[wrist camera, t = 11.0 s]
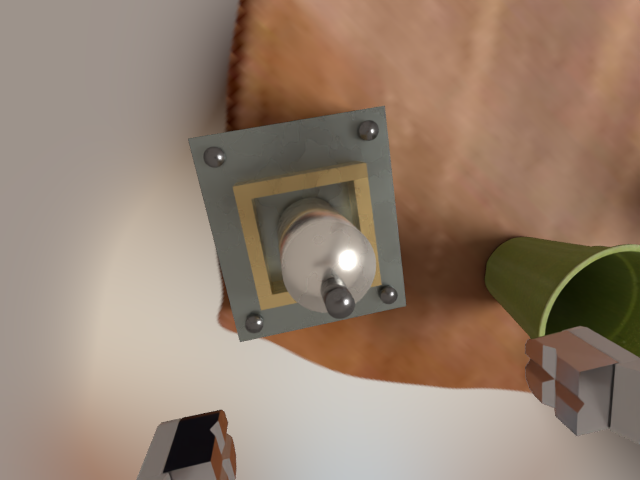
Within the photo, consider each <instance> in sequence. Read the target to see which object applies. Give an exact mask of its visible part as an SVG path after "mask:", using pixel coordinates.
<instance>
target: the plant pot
mask: <svg viewBox="0 0 640 480" xmlns="http://www.w3.org/2000/svg"><path fill="white" fill-rule="evenodd" d="M485 284H486V287H487V289H488V291H489V292H490V294H491V295H492V296H493V297H494V298H495V299H496V300H497V301H498V302H499V303H500V304H501V306H502V307H503V308H504V309H505V310H506V311H507V312H508V313H509V314H510V315H511V316H512V318H513V319H514V320H515V321H516V322H517V323H518V324H519V325H520V326H521V327H522V329H523V330H524V331H525V332H526V333H527V334H528V335H529V336H530V338H531V339H532V338H536V337H540V336H544V335H549V334H553V333H557V332H561V331H563V330H567V329H570V328H574V327H578V326H582V327H587V328H589V329H591V330H592V331H594V332H596V333H598V334H599V335H601V336H603V337H605V338H606V339H608V340H610V341H611V342H613V343H615V344H617V345H618V346H620V347H622V348H624V349H625V350H627V351H629V352H631V353H632V354H634V355H636V356H638V357H639V358H640V245H635V244H626V245H618V246H613V247H605V246H592V247H590V246H583V245H577V244H570V243H564V242H557V241H551V240H544V239H538V238H531V237H518V238H513V239H510V240H508V241H506V242H505V243H503V244H501V245H500V246H499V247H498V248H497V249H496V250H495V251H494V252H493V253H492V255H491V256H490V258H489V260H488V262H487V265H486V274H485Z"/></svg>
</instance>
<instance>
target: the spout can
mask: <svg viewBox="0 0 640 480" xmlns="http://www.w3.org/2000/svg"><path fill="white" fill-rule="evenodd" d="M277 234H278V243H279V252H280V260H281V269H282V277H283V281H284V285H285V287H286V289H287V291H288V293H289V294H290V295H291V297H292V298H293V299H294V300H295V301H296V302H297V303H298V304H300V305H301V306H303V307H305V308H307V309H309V310H312V311H316V312H322V313H329V315H330V316H332V317H333V318H336V319H343V318H346V317H348V316H349V315H351V313H352V312H353V311H354V308H355V303H357V302H358V301H359V300H360V299H361V298H363V296H364V295H365V294H366V293H367V291H368V290H369V288H370V287H371V285H372V283H373V280H374V277H375V272H376V258H375V253H374V250H373V248H372V246H371V244H370V242H369V241H368V239H367V238H366V237H365V236H364V235H363V234H362V233H361V232H360V231H359V230H358V229H357V228H356V227H355V226H354V225H352V224H351V223H350V222H349V221H348V220H347V219H346V218H345V217H344V216H343V215H342V214H340V213H339V212H338V211H337V210H336V209H335V208H334V207H333V206H332V205H330V204H329V203H327V202H326V201H323V200H321V199H317V198H304V199H300V200H298V201H296V202H294V203H292V204H291V205H289V206H288V207H287V208H286V209H285V210H284V212H283V213H282V215H281V217H280V219H279V222H278V227H277Z"/></svg>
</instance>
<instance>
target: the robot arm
mask: <svg viewBox="0 0 640 480" xmlns="http://www.w3.org/2000/svg"><path fill="white" fill-rule="evenodd" d="M525 354H526V355H527V356H528V357H529V358H530V360H529V362H528V364H527V365H526V367H525V374H526V380H527V383H528V386H529V388H530V390H531V391H532V393H533V394H534V396H535V397H536V398H537V399H538V400H539V401H540V402H541V403H543V404H545V405H548V406H550V407H552V408H554V410H555V416H556V417H557V418H558V419H559V420H560V421H561V422H562V423H563V424H564V425H566V427H567V428H569V429H570V430H571V431H572V432H573V433H574V434H575V435H576V436H580V435H584V434H589V433H593V432H598V431H602V430H607V429H610V431H612V432H614V433H616V434H618V435H620V436H622V437H624V438H627V439H628V440H631V441H633V442H635V443H637V444H639V445H640V358H639V357H638V356H636V355H634V354H632V353H631V352H629V351H627V350H625V349H624V348H622V347H620V346H618V345H617V344H615V343H613V342H611V341H610V340H608V339H606V338H605V337H603V336H601V335H599V334H598V333H596V332H594V331H592V330H591V329H589V328H587V327H582V326H578V327H574V328H570V329H567V330H563V331H561V332H557V333H553V334H549V335H544V336H540V337H536V338H532V339H528V340H527V342H526V344H525ZM227 426H228V421H227V418H226V415H225V412H224V411H223V410H217V411H213V412H208V413H203V414H198V415H194V416H189V417H184V418H182V419H175V420H171V421H166V422H162V423H161V424H160V425H159V426H158V427H157V429H156V432H155V434H154V437H153V440H152V442H151V445H150V447H149V449H148V452H147V454H146V457H145V459H144V462H143V465H142V467H141V470H140V472H139V475H138V477H137V480H235V479H236V453H235V447H234V442H233V439H232V437H231V436H230V435H228V434H227Z"/></svg>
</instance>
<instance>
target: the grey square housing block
mask: <svg viewBox="0 0 640 480" xmlns="http://www.w3.org/2000/svg"><path fill="white" fill-rule="evenodd" d="M188 141H189V145H190V148H191V153H192V157H193V160H194V164H195V168H196V171H197V176H198V180H199V184H200V188H201V191H202V196H203V199H204V203H205V207H206V211H207V215H208V219H209V223H210V226H211V231H212V234H213V238H214V242H215V246H216V250H217V254H218V258H219V262H220V266H221V270H222V274H223V278H224V281H225V285H226V289H227V293H228V297H229V301H230V305H231V309H232V313H233V317H234V321H235V324H236V328H237V332H238V336H239V340H240V342H242V341H247V340H252V339H257V338H261V337H266V336H270V335H275V334H280V333H284V332H289V331H293V330H298V329H303V328H307V327H312V326H316V325H321V324H326V323H330V322H335V321H339V320H344V319H349V318H353V317H358V316H362V315H367V314H372V313H376V312H381V311H385V310H390V309H395V308H399V307H404V306H406V299H405V289H404V280H403V271H402V262H401V252H400V243H399V234H398V225H397V215H396V206H395V197H394V188H393V178H392V169H391V160H390V151H389V141H388V132H387V123H386V114H385V106H381V107H375V108H369V109H363V110H357V111H351V112H345V113H339V114H333V115H327V116H321V117H315V118H309V119H303V120H297V121H291V122H285V123H279V124H273V125H267V126H261V127H255V128H249V129H243V130H237V131H231V132H225V133H219V134H213V135H207V136H201V137H195V138H189V139H188ZM304 198H317V199H321V200H323V201H326V202H327V203H329V204H330V205H332V206H333V207H334V208H335V209H336V210H337V211H338V212H339V213H340V214H342V215H343V216H344V217H345V218H346V219H347V220H348V221H349V222H350V223H351V224H352V225H354V226H355V227H356V228H357V229H358V230H359V231H360V232H361V233H362V234H363V235H364V236H365V237H366V238H367V239H368V241H369V242H370V244H371V246H372V248H373V250H374V253H375V258H376V272H375V277H374V280H373V283H372V285H371V287H370V288H369V290H368V291H367V293H366V294H365V295H364V296H363V298H361V299H360V300H359V301H358V302H357V303H355V308H354V311H353V312H352V313H351V315H349V316H348V317H346V318H343V319H336V318H333V317H332V316H330V315H329V313H322V312H316V311H312V310H309V309H307V308H305V307H303V306H301V305H300V304H298V303H297V302H296V301H295V300H294V299H293V298H292V297H291V295H290V294H289V293H288V291H287V289H286V287H285V285H284V281H283V277H282V269H281V260H280V252H279V243H278V234H277V227H278V222H279V219H280V217H281V215H282V213H283V212H284V210H285V209H286V208H287V207H288V206H289V205H291V204H292V203H294V202H296V201H298V200H300V199H304Z"/></svg>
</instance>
